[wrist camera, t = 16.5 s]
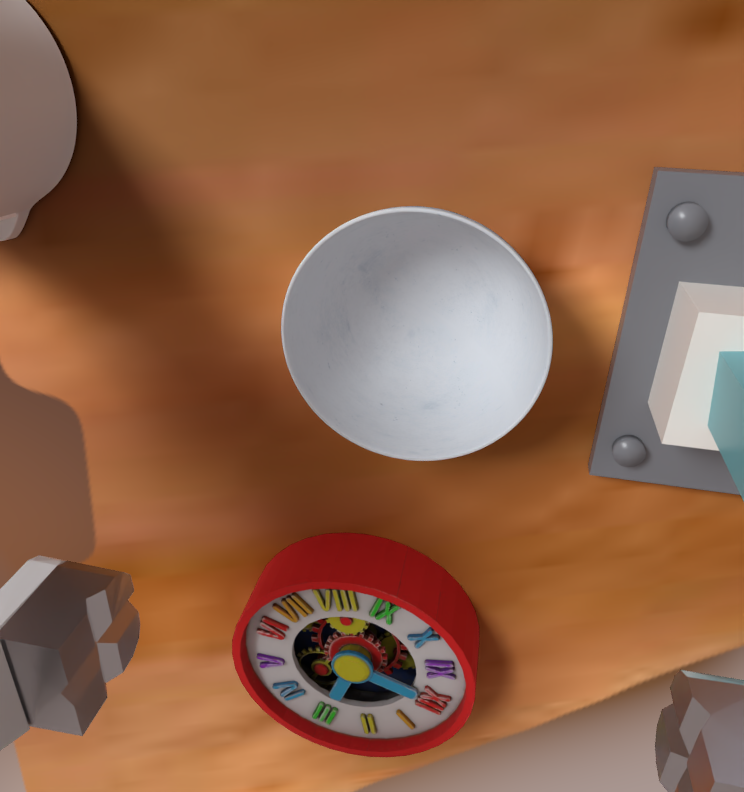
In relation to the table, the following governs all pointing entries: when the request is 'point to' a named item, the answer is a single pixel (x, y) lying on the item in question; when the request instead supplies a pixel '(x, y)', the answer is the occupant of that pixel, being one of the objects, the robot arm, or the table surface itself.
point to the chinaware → (417, 333)
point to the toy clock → (359, 646)
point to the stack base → (661, 259)
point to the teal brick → (729, 413)
